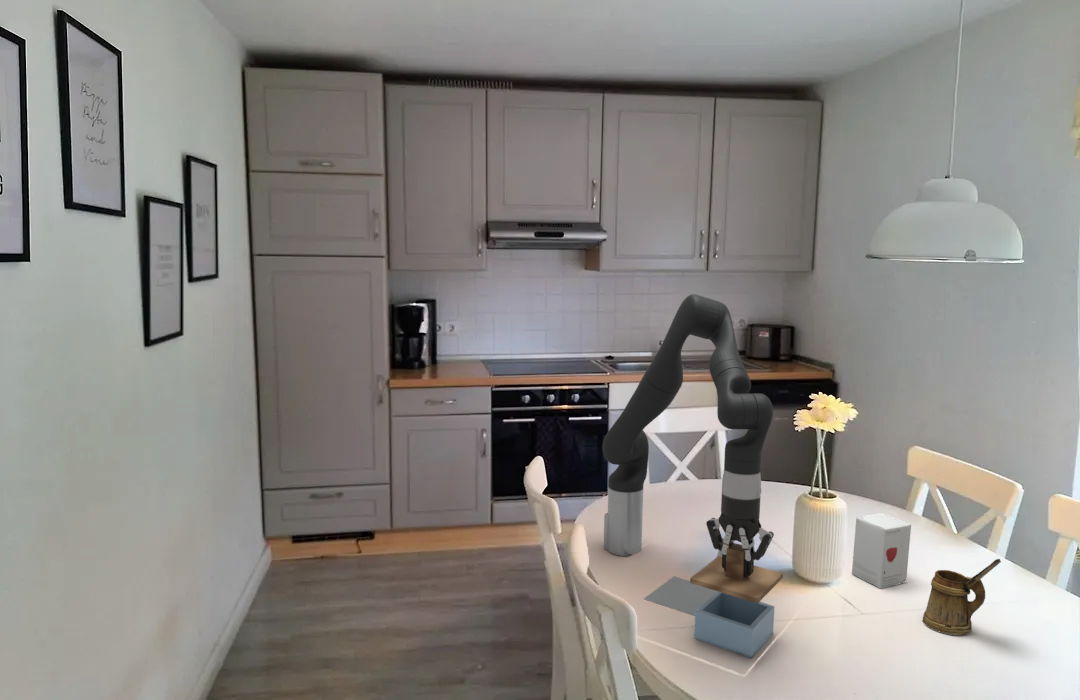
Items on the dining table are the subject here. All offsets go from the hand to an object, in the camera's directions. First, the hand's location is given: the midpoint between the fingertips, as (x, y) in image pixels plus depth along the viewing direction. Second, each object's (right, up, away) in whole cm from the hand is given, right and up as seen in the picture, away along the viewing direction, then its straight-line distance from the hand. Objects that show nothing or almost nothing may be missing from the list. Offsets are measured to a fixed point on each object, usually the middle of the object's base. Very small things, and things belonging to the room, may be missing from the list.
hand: (737, 573), depth 147 cm
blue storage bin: (0, -14, +2) cm, 14 cm away
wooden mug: (+48, -14, +6) cm, 51 cm away
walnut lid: (0, -2, 0) cm, 2 cm away
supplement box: (+43, -11, +30) cm, 54 cm away
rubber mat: (-6, -12, +19) cm, 23 cm away
